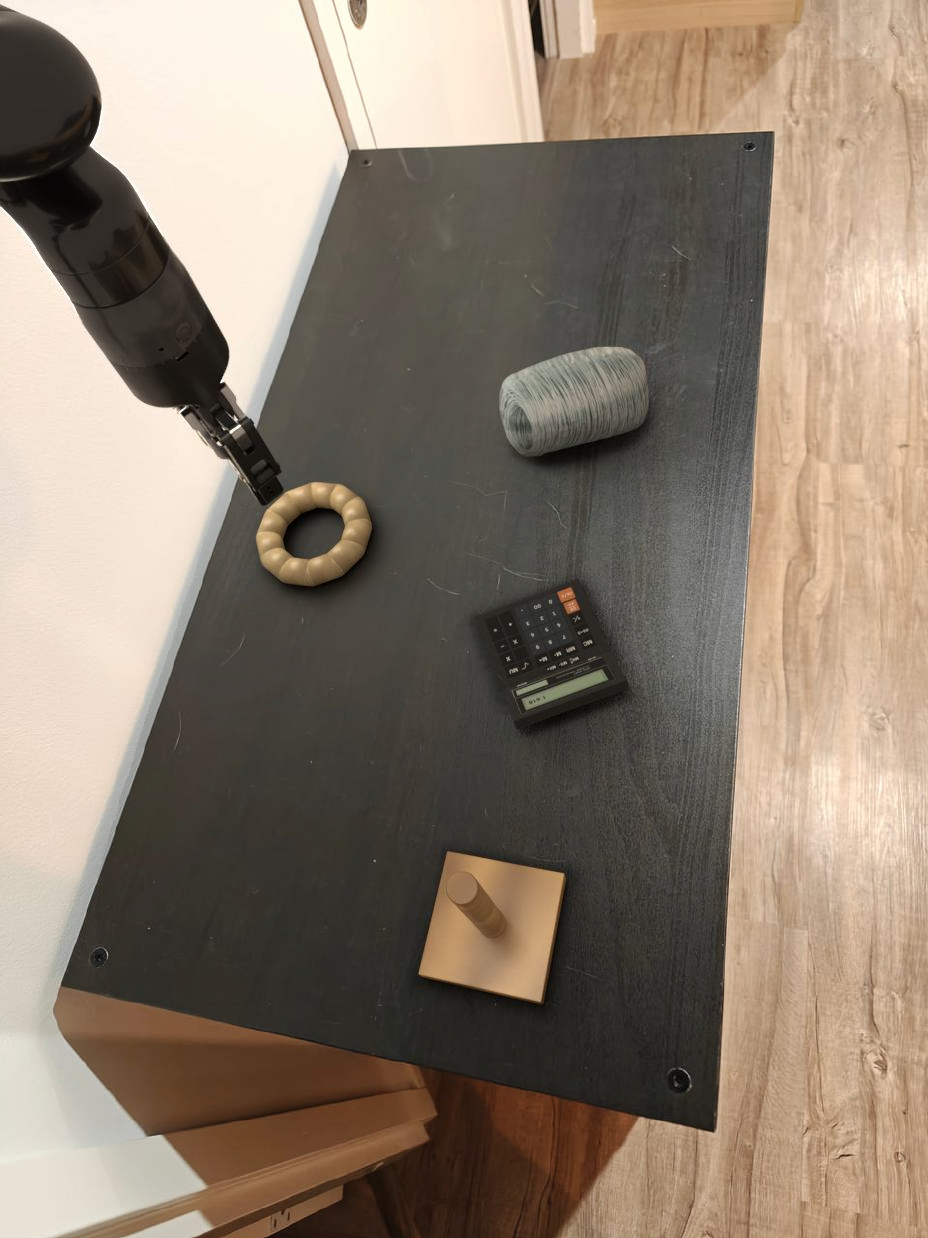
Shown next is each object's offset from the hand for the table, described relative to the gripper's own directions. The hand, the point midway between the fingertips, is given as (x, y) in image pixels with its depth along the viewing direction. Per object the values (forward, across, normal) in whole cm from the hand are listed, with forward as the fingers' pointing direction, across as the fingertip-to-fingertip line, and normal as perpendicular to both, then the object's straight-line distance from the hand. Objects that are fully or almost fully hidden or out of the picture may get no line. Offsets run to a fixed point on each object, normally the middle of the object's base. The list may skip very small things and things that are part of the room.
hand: (243, 467), depth 77 cm
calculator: (+14, +25, +10) cm, 30 cm away
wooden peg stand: (+14, +38, -8) cm, 41 cm away
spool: (+14, +8, +28) cm, 32 cm away
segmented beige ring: (+12, 0, +2) cm, 13 cm away
